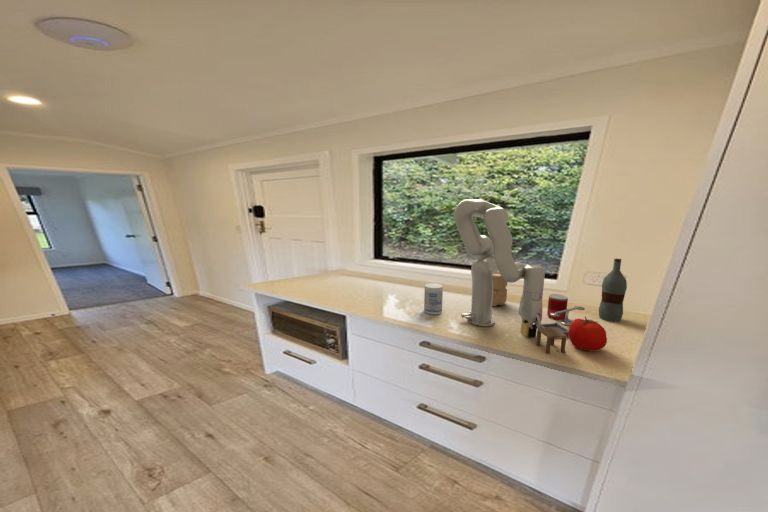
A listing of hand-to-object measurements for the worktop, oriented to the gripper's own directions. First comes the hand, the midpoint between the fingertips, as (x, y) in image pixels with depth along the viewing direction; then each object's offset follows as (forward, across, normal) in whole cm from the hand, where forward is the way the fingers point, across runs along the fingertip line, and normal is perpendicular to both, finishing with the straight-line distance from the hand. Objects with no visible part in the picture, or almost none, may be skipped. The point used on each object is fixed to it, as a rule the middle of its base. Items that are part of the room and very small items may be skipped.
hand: (528, 333), depth 122 cm
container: (+1, -39, +3) cm, 39 cm away
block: (0, 0, 0) cm, 1 cm away
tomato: (0, +13, +15) cm, 20 cm away
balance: (0, -8, +23) cm, 24 cm away
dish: (0, -1, +12) cm, 12 cm away
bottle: (0, -11, +48) cm, 49 cm away
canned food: (+1, -16, +24) cm, 29 cm away
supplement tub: (+1, -31, -35) cm, 46 cm away
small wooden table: (0, +12, +1) cm, 12 cm away
